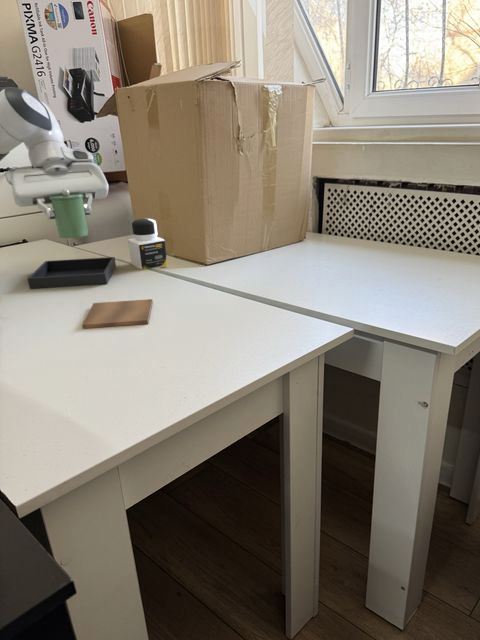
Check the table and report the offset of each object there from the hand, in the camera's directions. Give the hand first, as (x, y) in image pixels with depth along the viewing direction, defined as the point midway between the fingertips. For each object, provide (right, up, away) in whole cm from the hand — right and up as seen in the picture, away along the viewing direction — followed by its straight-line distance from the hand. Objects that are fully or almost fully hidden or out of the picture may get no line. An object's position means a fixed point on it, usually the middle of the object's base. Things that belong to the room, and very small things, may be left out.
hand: (70, 215), depth 112 cm
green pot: (0, -4, +2) cm, 4 cm away
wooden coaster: (+14, -23, -11) cm, 29 cm away
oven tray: (-3, -13, +12) cm, 18 cm away
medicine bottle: (+13, -8, +21) cm, 26 cm away
